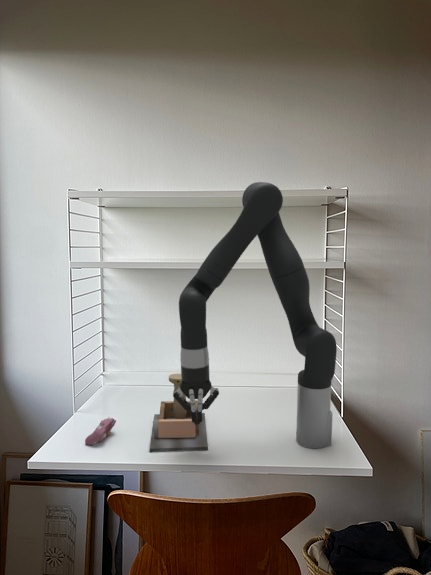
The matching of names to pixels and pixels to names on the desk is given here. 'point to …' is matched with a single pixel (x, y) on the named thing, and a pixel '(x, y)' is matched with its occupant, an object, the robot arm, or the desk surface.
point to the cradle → (179, 443)
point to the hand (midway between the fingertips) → (197, 423)
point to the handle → (178, 409)
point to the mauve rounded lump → (101, 431)
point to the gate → (174, 428)
